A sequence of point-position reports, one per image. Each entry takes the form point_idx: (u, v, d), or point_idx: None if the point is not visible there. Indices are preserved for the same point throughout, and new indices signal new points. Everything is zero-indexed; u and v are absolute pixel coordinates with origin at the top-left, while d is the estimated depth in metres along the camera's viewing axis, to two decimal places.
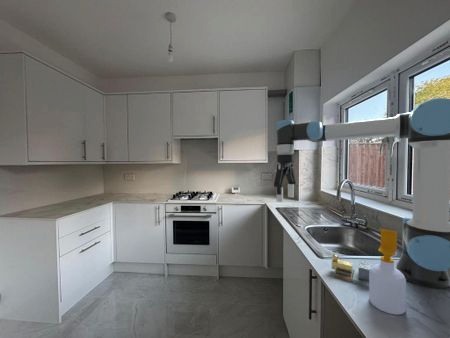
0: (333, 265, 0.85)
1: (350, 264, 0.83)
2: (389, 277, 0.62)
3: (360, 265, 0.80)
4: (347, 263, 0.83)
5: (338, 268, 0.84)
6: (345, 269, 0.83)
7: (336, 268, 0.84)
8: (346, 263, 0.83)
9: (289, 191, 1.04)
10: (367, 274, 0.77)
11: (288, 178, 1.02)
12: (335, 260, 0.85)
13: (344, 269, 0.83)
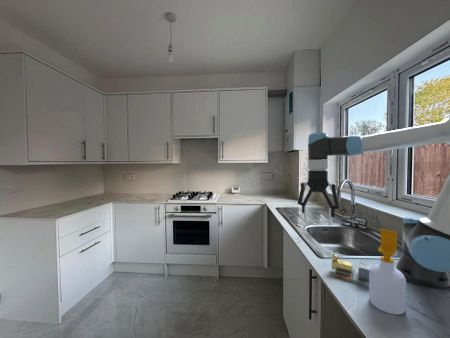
0: (333, 265, 0.85)
1: (350, 264, 0.83)
2: (389, 277, 0.62)
3: (360, 265, 0.80)
4: (347, 263, 0.83)
5: (338, 268, 0.84)
6: (345, 269, 0.83)
7: (336, 268, 0.84)
8: (346, 263, 0.83)
9: None
10: (367, 274, 0.77)
11: None
12: (335, 260, 0.85)
13: (344, 269, 0.83)
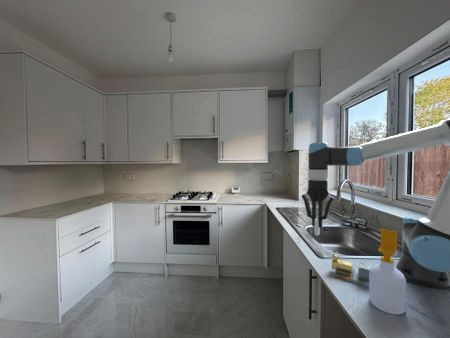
0: (333, 265, 0.85)
1: (350, 264, 0.83)
2: (389, 277, 0.62)
3: (360, 265, 0.80)
4: (347, 263, 0.83)
5: (338, 268, 0.84)
6: (345, 269, 0.83)
7: (336, 268, 0.84)
8: (346, 263, 0.83)
9: None
10: (367, 274, 0.77)
11: None
12: (335, 260, 0.85)
13: (344, 269, 0.83)
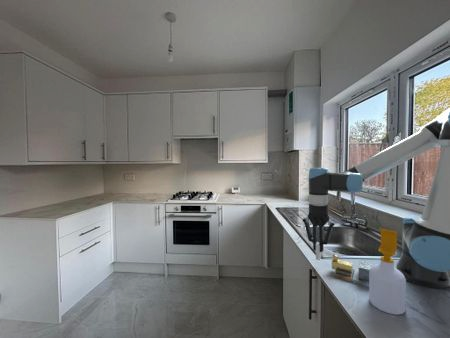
0: (333, 265, 0.85)
1: (350, 264, 0.83)
2: (389, 277, 0.62)
3: (360, 265, 0.80)
4: (347, 263, 0.83)
5: (338, 268, 0.84)
6: (345, 269, 0.83)
7: (336, 268, 0.84)
8: (346, 263, 0.83)
9: None
10: (367, 274, 0.77)
11: None
12: (335, 260, 0.85)
13: (344, 269, 0.83)
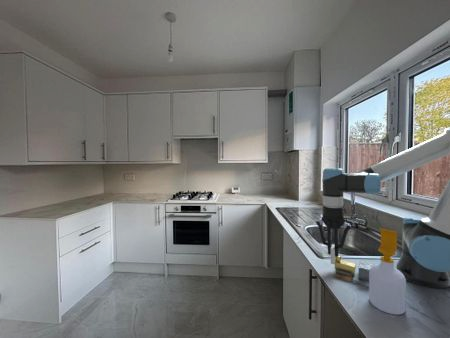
0: (336, 266, 0.84)
1: (353, 265, 0.82)
2: (389, 277, 0.62)
3: (360, 265, 0.80)
4: (350, 264, 0.83)
5: (341, 269, 0.83)
6: (348, 270, 0.82)
7: (339, 269, 0.84)
8: (349, 264, 0.83)
9: None
10: (367, 274, 0.77)
11: None
12: (338, 261, 0.84)
13: (347, 270, 0.82)
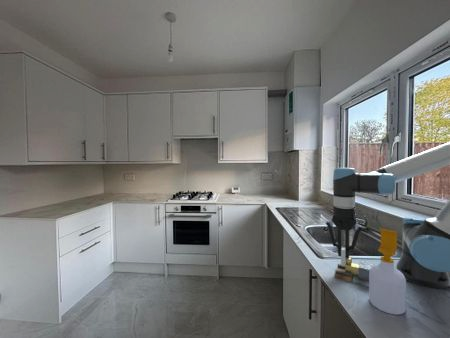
0: (347, 268, 0.82)
1: None
2: (389, 277, 0.62)
3: (360, 265, 0.80)
4: None
5: (352, 272, 0.81)
6: None
7: (350, 272, 0.82)
8: None
9: None
10: (367, 274, 0.77)
11: None
12: (349, 263, 0.82)
13: (358, 273, 0.80)
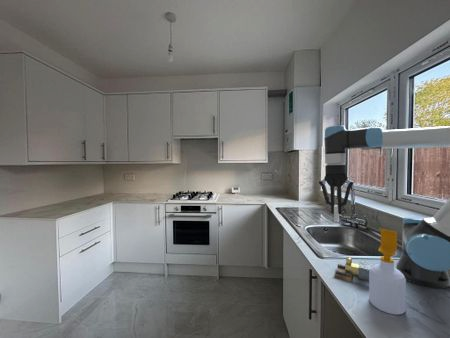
0: (347, 268, 0.82)
1: None
2: (389, 277, 0.62)
3: (360, 265, 0.80)
4: None
5: (352, 272, 0.81)
6: None
7: (350, 272, 0.82)
8: None
9: None
10: (367, 274, 0.77)
11: None
12: (349, 263, 0.82)
13: (358, 273, 0.80)
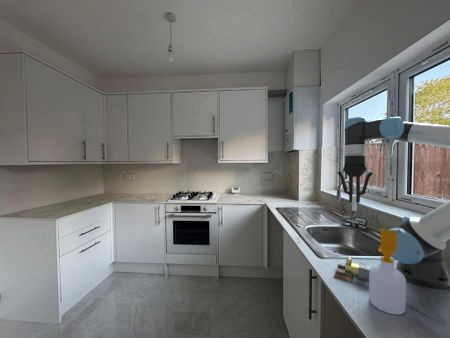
0: (347, 268, 0.82)
1: None
2: (389, 277, 0.62)
3: (360, 265, 0.80)
4: None
5: (352, 272, 0.81)
6: None
7: (350, 272, 0.82)
8: None
9: None
10: (367, 274, 0.77)
11: None
12: (349, 263, 0.82)
13: (358, 273, 0.80)
